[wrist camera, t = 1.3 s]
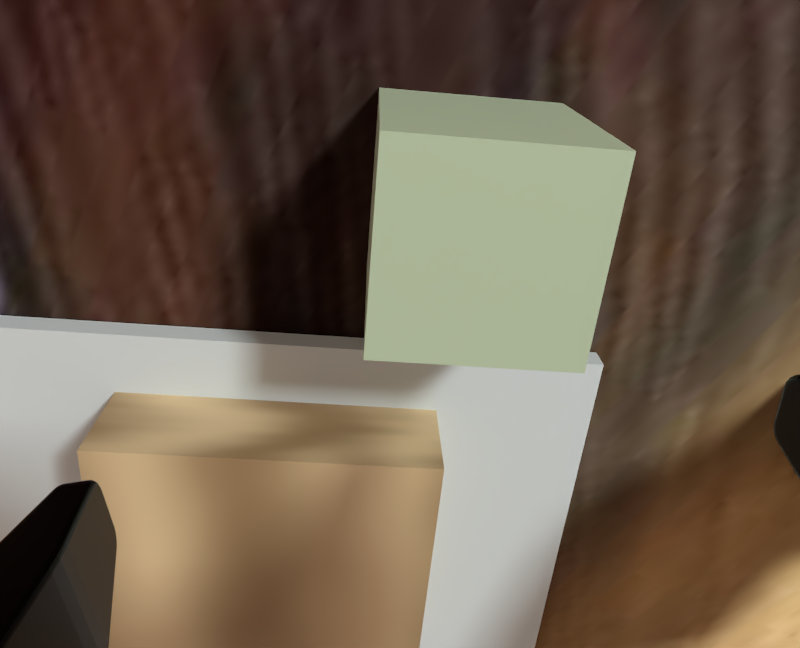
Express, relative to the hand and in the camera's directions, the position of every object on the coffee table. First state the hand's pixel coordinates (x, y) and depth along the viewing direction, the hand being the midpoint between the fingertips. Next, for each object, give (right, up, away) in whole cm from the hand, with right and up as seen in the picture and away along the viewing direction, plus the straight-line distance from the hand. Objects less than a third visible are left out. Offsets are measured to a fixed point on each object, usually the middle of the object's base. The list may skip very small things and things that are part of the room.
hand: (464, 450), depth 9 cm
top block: (+1, +6, +11) cm, 12 cm away
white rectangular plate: (-5, -5, +16) cm, 17 cm away
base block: (-5, -5, +15) cm, 17 cm away
